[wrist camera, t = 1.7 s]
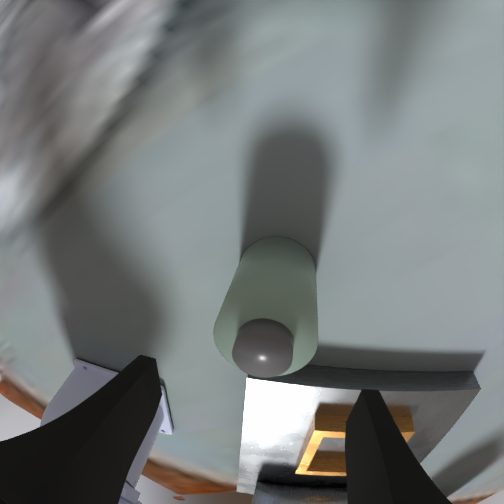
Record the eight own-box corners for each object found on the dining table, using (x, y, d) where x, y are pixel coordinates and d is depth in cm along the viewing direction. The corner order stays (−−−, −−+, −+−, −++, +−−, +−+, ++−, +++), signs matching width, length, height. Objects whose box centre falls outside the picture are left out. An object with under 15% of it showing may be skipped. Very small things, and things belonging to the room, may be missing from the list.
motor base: (239, 478, 31) (228, 526, 25) (251, 357, 21) (232, 440, 15) (381, 485, 29) (383, 531, 23) (473, 371, 20) (499, 438, 13)
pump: (237, 298, 20) (208, 383, 13) (241, 232, 18) (206, 304, 11) (309, 308, 19) (307, 397, 13) (321, 242, 17) (328, 320, 11)
